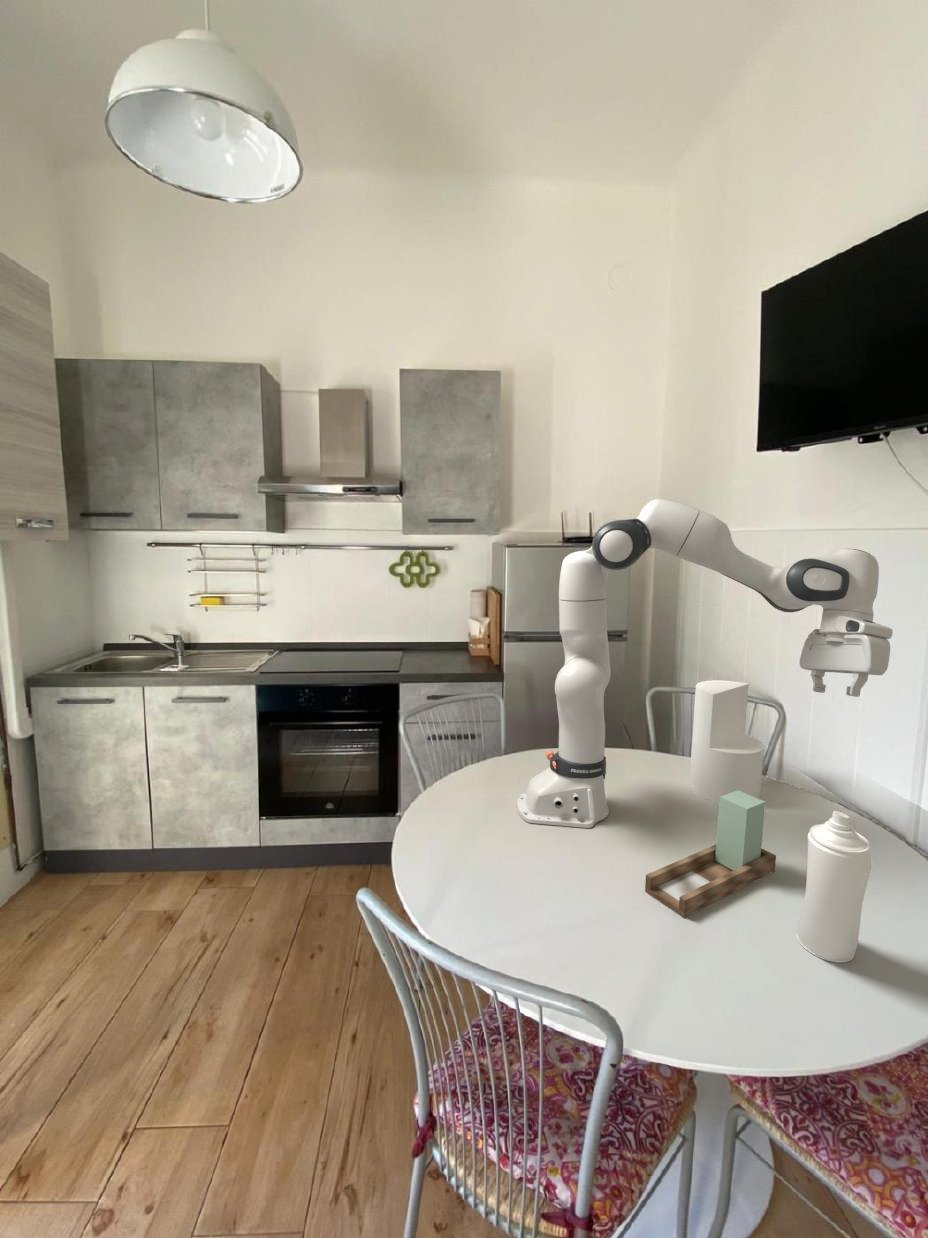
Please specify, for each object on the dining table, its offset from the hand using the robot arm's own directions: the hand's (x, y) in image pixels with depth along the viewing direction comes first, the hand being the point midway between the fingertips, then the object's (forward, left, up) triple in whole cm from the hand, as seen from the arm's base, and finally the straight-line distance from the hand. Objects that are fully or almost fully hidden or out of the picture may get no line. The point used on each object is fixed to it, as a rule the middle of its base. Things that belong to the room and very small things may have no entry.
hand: (834, 694), depth 119 cm
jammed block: (-20, -5, -34) cm, 40 cm away
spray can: (-16, -28, -36) cm, 48 cm away
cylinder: (-6, +31, -36) cm, 48 cm away
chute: (-27, -9, -36) cm, 46 cm away
